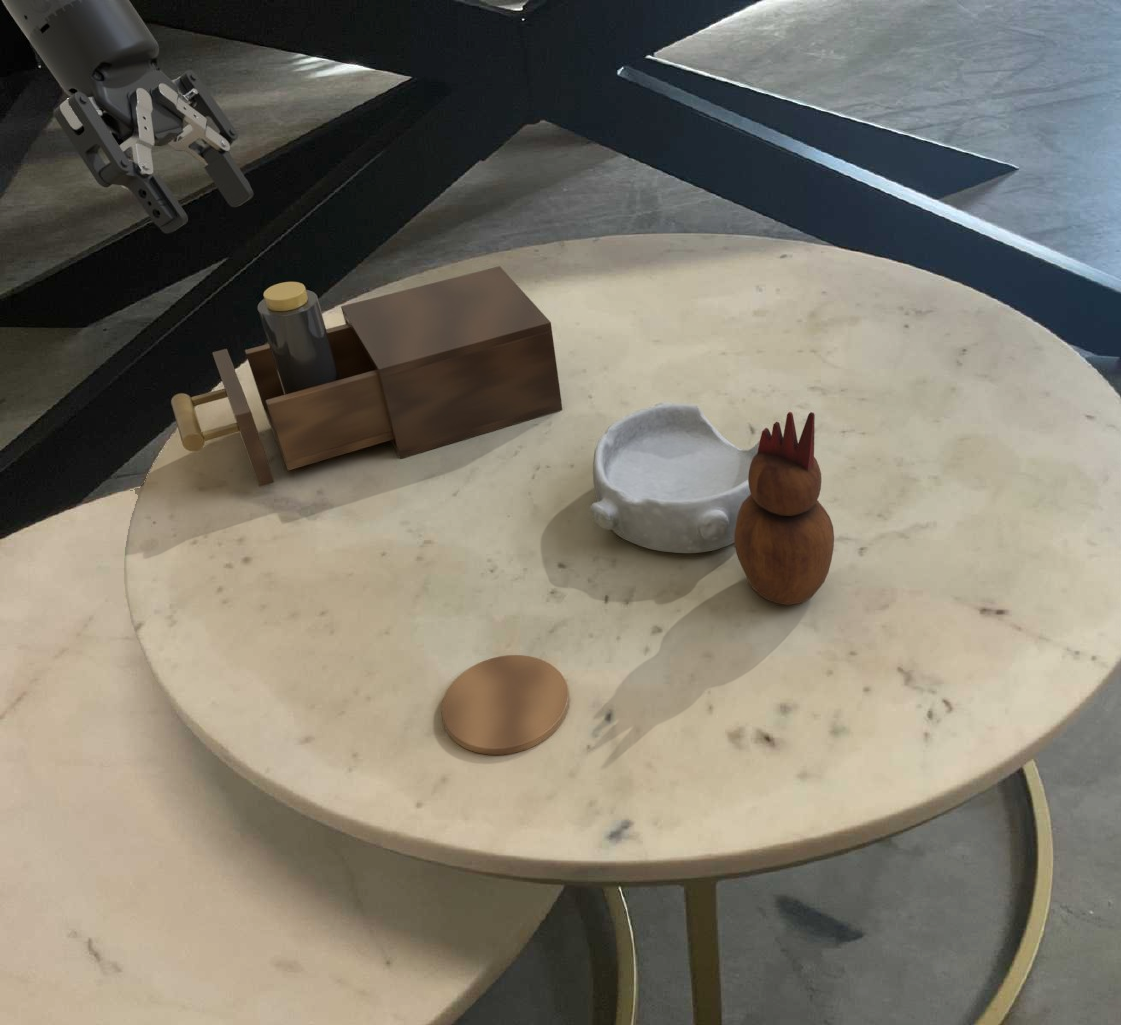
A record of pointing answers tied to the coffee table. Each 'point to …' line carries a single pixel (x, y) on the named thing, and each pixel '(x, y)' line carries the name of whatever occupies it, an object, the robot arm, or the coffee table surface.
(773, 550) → the wooden figurine
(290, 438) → the drawer
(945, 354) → the coffee table surface
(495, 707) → the coaster
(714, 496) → the dish
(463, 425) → the cabinet
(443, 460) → the coffee table surface
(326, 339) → the cylinder
